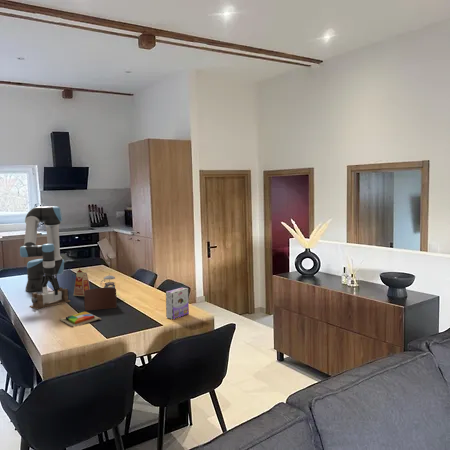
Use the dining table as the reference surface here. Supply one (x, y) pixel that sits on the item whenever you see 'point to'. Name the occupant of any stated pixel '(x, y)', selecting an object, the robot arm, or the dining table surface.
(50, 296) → the white block with pegs
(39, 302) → the cradle rack
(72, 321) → the wooden puzzle
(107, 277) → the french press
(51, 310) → the dining table surface
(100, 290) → the letter holder
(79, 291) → the milk carton
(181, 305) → the candy box
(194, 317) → the dining table surface
